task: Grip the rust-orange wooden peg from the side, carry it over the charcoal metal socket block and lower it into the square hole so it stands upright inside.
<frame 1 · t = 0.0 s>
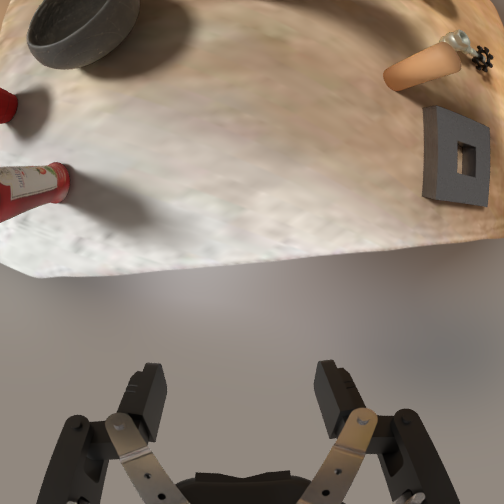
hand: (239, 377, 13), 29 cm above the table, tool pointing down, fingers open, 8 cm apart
bowl: (101, 34, 29), on the table
plastic cup: (9, 109, 30), on the table
socket block: (453, 158, 38), on the table
sauce bottle: (59, 182, 36), on the table
peg: (394, 79, 34), on the table
valve: (456, 52, 31), on the table
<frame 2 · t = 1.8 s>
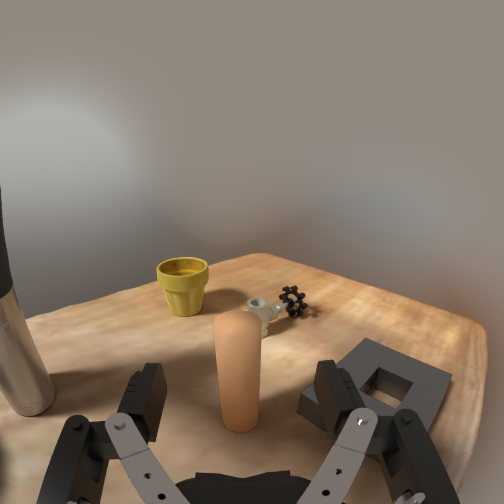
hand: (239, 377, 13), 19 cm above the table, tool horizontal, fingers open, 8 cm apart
socket block: (378, 406, 29), on the table
peg: (240, 419, 29), on the table
plant pot: (186, 309, 56), on the table
valve: (272, 326, 50), on the table
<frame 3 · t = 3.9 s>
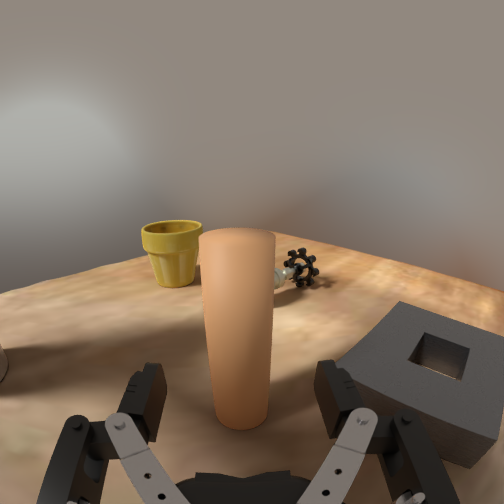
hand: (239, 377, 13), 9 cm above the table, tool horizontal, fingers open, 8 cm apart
socket block: (427, 385, 21), on the table
peg: (241, 410, 20), on the table
plant pot: (176, 281, 47), on the table
valve: (277, 298, 41), on the table
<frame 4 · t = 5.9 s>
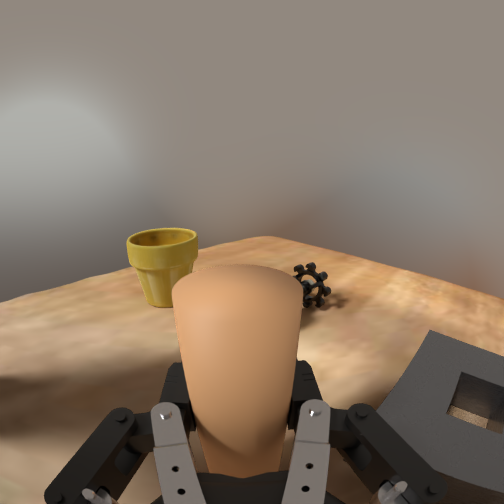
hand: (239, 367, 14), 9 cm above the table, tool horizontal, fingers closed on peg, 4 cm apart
socket block: (460, 431, 14), on the table
peg: (244, 478, 14), on the table, touching gripper
plant pot: (168, 298, 40), on the table
valve: (282, 322, 35), on the table
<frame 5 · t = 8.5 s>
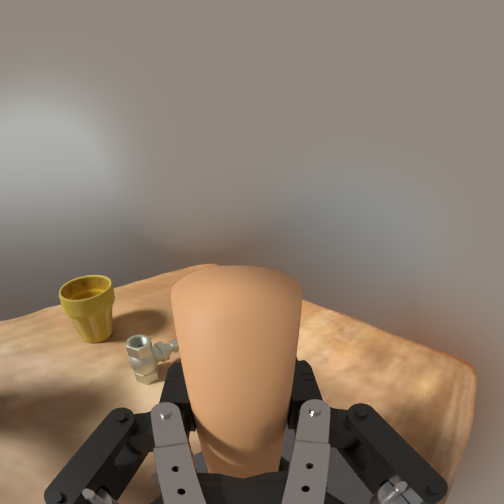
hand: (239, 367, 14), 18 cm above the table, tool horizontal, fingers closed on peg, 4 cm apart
socket block: (277, 502, 17), on the table
peg: (243, 478, 14), point 9 cm above the table, touching gripper
plant pot: (97, 334, 43), on the table
valve: (169, 367, 38), on the table
when the fingers open (10 cm above the table, at t = 11.1 s): peg drops 1 cm, resting in socket block.
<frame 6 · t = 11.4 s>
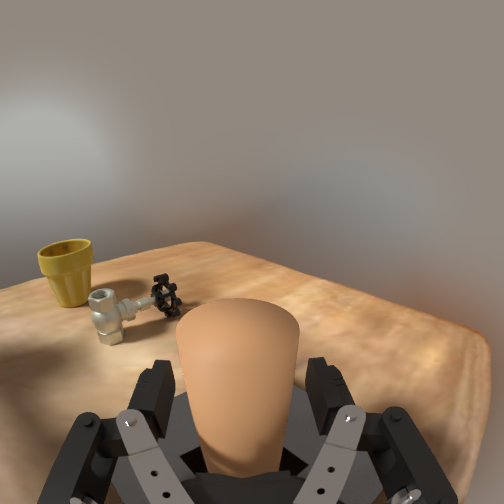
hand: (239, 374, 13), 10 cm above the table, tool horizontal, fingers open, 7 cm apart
socket block: (244, 485, 14), on the table
peg: (244, 486, 14), resting in socket block
plant pot: (75, 300, 41), on the table
valve: (137, 329, 34), on the table
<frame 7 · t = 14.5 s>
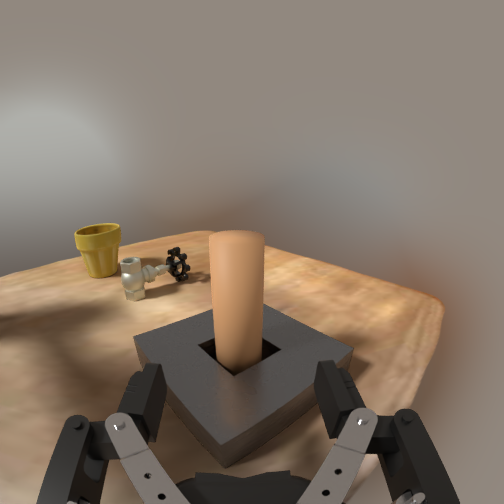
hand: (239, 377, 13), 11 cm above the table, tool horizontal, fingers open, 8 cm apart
socket block: (239, 376, 26), on the table
peg: (239, 377, 26), resting in socket block
plant pot: (103, 273, 53), on the table
valve: (154, 290, 46), on the table
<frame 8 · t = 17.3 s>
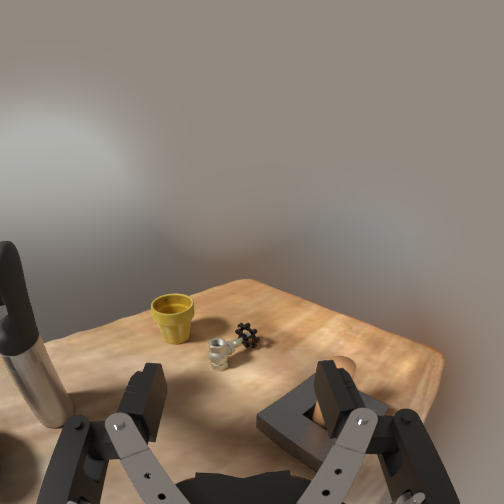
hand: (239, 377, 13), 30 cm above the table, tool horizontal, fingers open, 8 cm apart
socket block: (322, 426, 38), on the table
peg: (322, 427, 38), resting in socket block
plant pot: (177, 337, 65), on the table
valve: (231, 358, 58), on the table
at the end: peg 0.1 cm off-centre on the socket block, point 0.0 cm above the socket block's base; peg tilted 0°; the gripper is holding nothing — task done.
